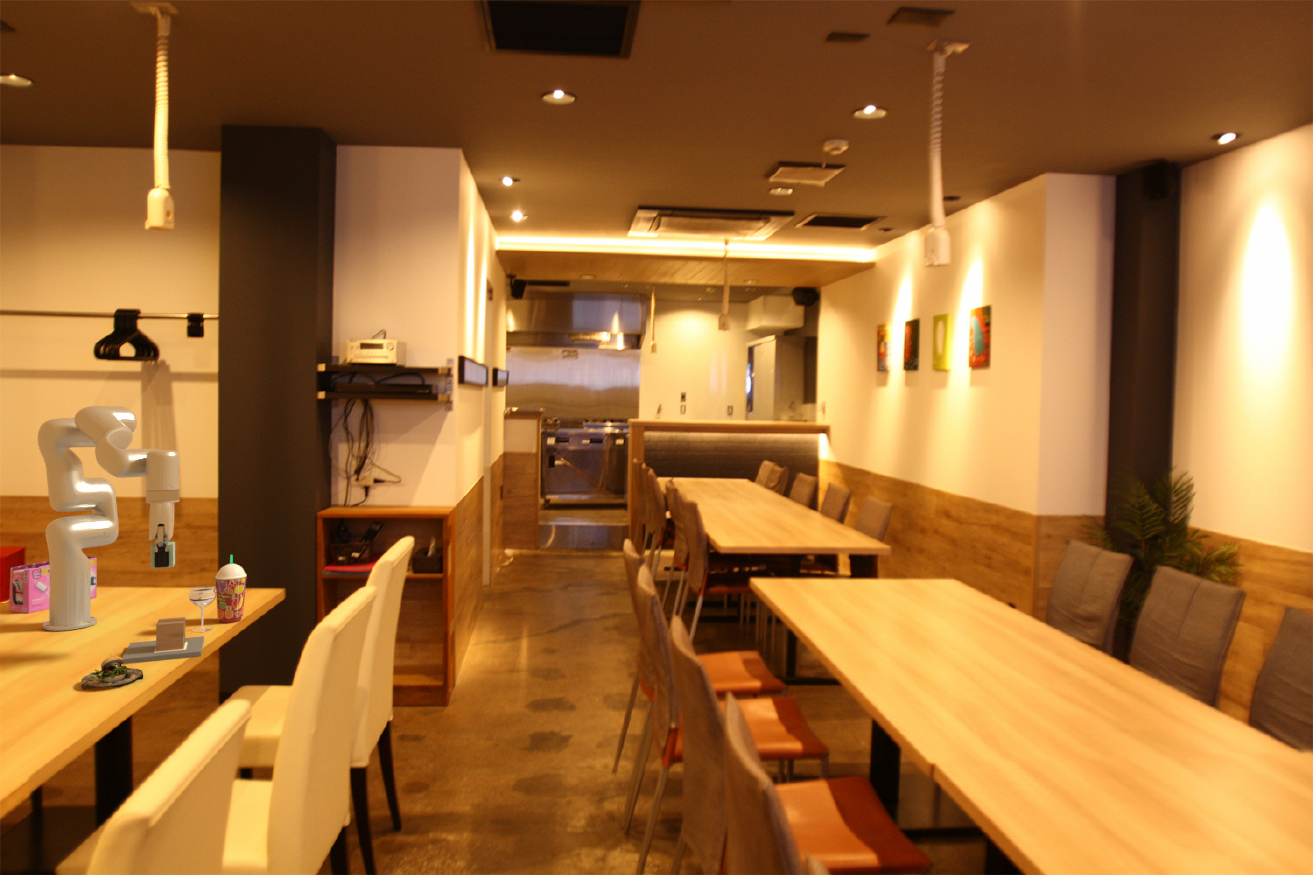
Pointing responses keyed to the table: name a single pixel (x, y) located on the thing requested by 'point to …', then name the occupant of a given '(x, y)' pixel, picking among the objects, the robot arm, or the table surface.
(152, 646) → the slate board
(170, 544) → the teal block
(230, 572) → the smoothie
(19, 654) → the table surface
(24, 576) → the gum box
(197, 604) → the wineglass
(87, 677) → the burger
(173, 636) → the walnut block
